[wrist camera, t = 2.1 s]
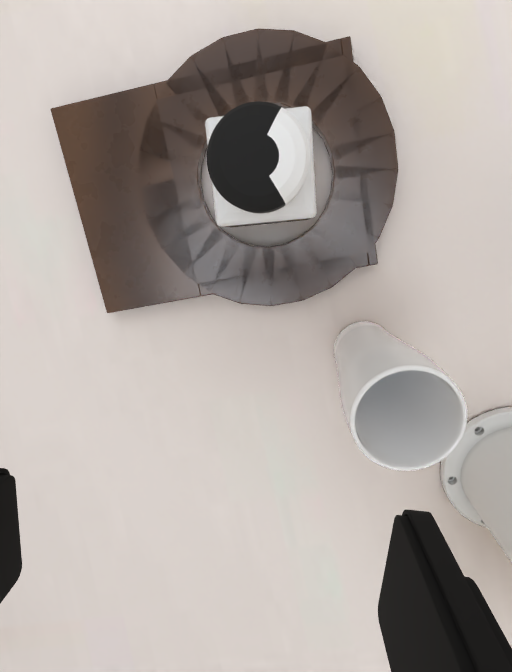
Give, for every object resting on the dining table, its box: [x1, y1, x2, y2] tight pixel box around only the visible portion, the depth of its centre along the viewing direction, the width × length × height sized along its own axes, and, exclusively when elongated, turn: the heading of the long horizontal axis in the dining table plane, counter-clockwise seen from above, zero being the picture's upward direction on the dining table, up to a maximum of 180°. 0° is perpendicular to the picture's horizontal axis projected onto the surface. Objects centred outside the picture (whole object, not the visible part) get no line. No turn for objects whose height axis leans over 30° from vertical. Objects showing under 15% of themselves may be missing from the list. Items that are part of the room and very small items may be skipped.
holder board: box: [51, 29, 398, 313], centre depth 35 cm, size 26×21×2 cm
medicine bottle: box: [205, 101, 317, 227], centre depth 30 cm, size 7×7×12 cm
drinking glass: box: [334, 321, 468, 471], centre depth 31 cm, size 7×7×15 cm
